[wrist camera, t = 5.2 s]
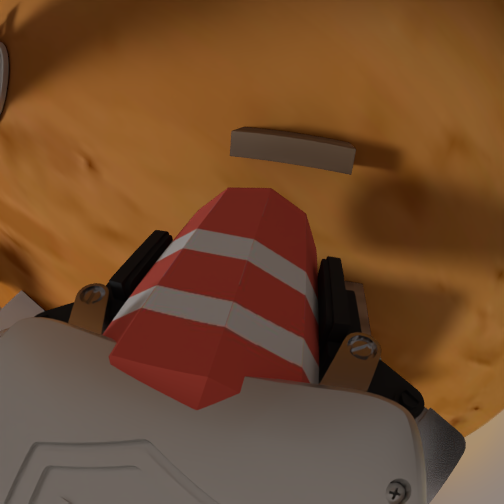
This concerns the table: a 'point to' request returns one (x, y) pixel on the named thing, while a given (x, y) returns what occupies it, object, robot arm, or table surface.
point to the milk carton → (18, 310)
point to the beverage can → (225, 303)
